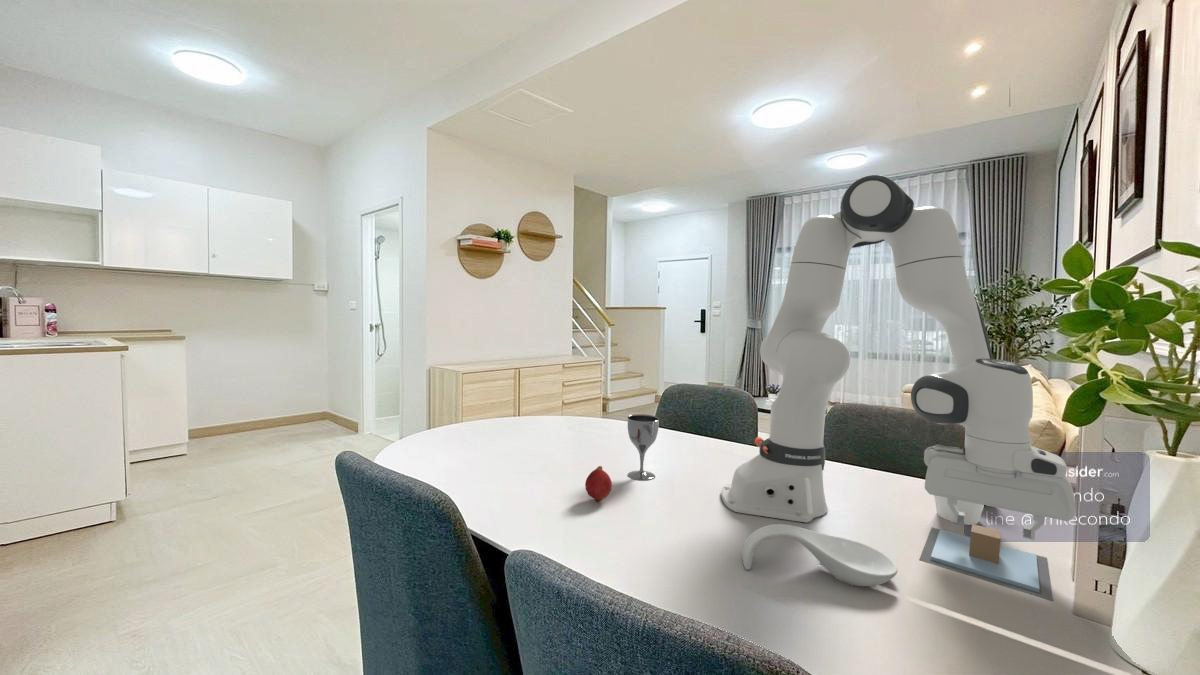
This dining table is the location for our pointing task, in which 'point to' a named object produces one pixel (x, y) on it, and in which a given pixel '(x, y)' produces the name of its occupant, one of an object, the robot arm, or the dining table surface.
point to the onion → (598, 484)
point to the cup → (968, 508)
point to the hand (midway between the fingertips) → (992, 530)
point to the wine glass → (642, 440)
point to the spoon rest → (830, 554)
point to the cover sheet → (1003, 572)
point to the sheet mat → (1042, 575)
